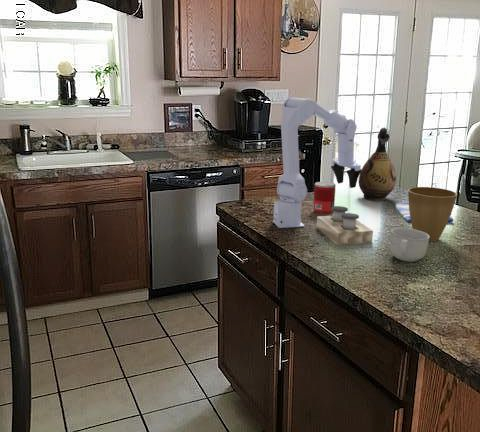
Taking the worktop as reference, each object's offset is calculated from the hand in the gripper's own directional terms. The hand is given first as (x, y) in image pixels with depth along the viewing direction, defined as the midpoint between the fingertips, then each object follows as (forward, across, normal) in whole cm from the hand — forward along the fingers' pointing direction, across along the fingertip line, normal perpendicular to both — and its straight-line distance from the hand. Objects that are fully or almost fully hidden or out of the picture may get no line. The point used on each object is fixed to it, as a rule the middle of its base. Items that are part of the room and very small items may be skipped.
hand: (346, 185), depth 202 cm
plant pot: (+10, -39, -2) cm, 40 cm away
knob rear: (+4, -19, +19) cm, 27 cm away
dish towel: (+14, -17, -23) cm, 32 cm away
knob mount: (+7, -23, +20) cm, 32 cm away
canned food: (+10, +4, +8) cm, 14 cm away
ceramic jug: (+15, +12, -25) cm, 31 cm away
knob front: (+4, -27, +21) cm, 35 cm away
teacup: (+7, -50, +19) cm, 54 cm away
